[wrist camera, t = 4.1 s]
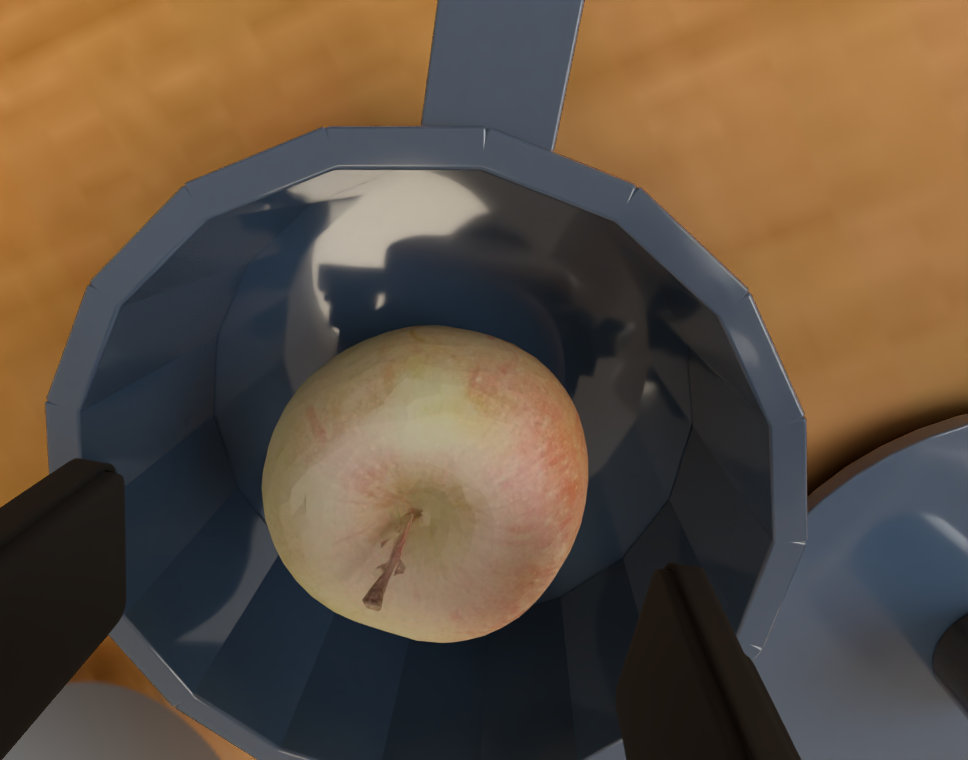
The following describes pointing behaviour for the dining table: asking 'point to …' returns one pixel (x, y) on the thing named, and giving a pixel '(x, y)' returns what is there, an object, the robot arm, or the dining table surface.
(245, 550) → the pot
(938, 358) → the dining table surface
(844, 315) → the dining table surface
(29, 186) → the dining table surface
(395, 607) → the fruit
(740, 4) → the dining table surface
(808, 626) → the lid
